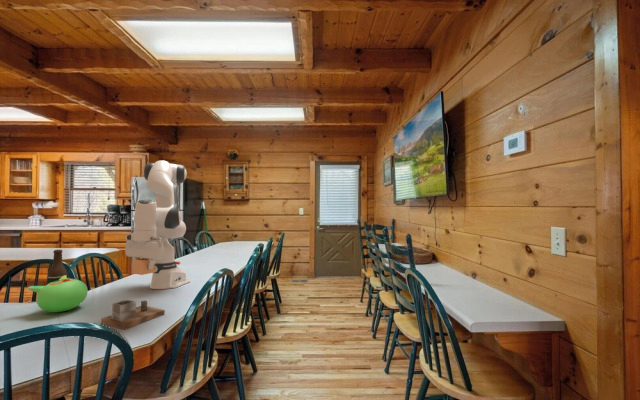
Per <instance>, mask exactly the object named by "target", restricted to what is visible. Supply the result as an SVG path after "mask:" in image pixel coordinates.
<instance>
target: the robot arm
mask: <svg viewBox="0 0 640 400" xmlns="http://www.w3.org/2000/svg"><path fill="white" fill-rule="evenodd" d="M142 174H143V176H144V177H143V178H144V179H145V180H146V182H147V183H146V185H147V187H148V189H150V191H151V192H153V193H154V194H155V199H140V200H137V202H136V204H135V209H134V215H133V218H134V219H133V221H134V228H133V232H131V233H128V234H126V235H125V240H126V242H125V251H124V253H125V256H126V257H131V258H133V260H134V259H141V258H146V259H149V261H150V262H149V265H147V269H153V264H154V262H155V271H154V273H151V274H152V275H151V281H150V284H149V289H153V290H166V289H176V288H178V287H181V286H184V285H186V284H189V283H191V280H190V279H189V278H187V275H186V272H185V271H184V270H182V269H180V268H179V267H178V266H179V265H181V261H178V260H177V261H175V247H174V246H173V245H172V244H171V243H170V242H169V239H180V238H182V237H184V235H185V234H186V232H187V226H186V223H185V221H183V220H182V215H181V211H180V203H179V200H180V199H179V192H178V186H180V184H182V183H184V182H185V181H186V179H187V175H188V173H187V168H186V166H184V165H182V164H178V163H177V164H175V163H170V162H169V161H166V160H156V161H155V162H149V163H146V164H145V165H144V168H143V172H142Z"/></svg>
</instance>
